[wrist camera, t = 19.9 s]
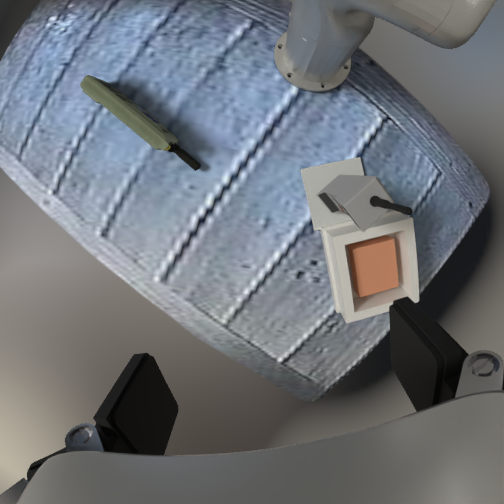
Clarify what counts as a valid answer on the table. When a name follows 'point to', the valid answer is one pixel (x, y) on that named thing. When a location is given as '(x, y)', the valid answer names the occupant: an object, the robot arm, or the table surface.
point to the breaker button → (373, 265)
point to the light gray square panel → (322, 177)
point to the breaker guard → (341, 272)
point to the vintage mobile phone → (359, 199)
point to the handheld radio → (135, 118)
